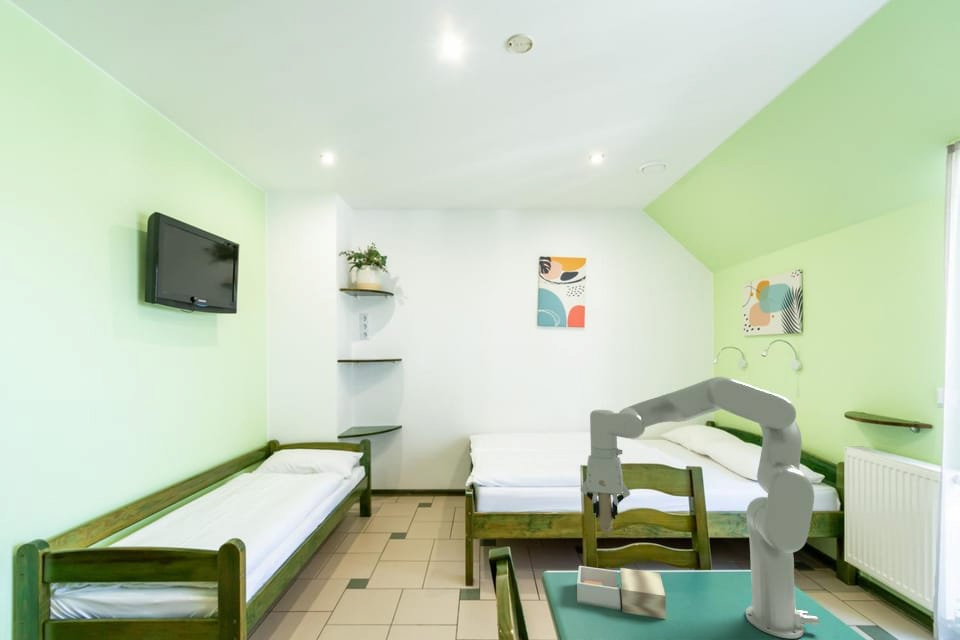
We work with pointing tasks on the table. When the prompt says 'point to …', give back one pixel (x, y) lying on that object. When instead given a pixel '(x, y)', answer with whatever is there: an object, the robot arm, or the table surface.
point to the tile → (593, 582)
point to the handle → (605, 510)
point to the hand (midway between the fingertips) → (605, 515)
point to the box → (598, 587)
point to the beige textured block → (642, 593)
